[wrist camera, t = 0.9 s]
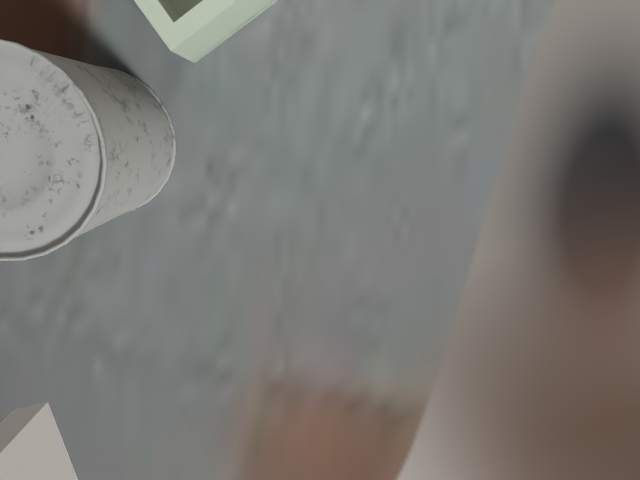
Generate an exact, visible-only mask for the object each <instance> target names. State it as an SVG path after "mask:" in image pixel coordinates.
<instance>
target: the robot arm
mask: <svg viewBox="0 0 640 480" xmlns="http://www.w3.org/2000/svg"><path fill="white" fill-rule="evenodd" d="M0 480H78V479H77V476H76V474H75V471H74V469H73V466H72V463H71V461H70V458H69V456H68V453H67V450H66V448H65V445H64V443H63V440H62V438H61V435H60V432H59V430H58V427H57V425H56V422H55V419H54V417H53V414H52V412H51V409H50V407H49V404H48V402H45V403H41V404H36V405H32V406H27V407H23V408H18V409H14V410H13V411H12V412H11V413H10V414H9V415H8V416H7V417H6V418H5V419H4V420H3V421H2V422H1V423H0Z"/></svg>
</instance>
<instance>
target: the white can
mask: <svg viewBox="0 0 640 480" xmlns="http://www.w3.org/2000/svg"><path fill="white" fill-rule="evenodd" d="M175 154H176V140H175V132H174V128H173V125H172V122H171V118H170V116H169V114H168V112H167V110H166V109H165V107H164V105H163V103H162V101H161V100H160V99H159V98H158V97H157V96H156V95H155V93H154V92H153V91H152V90H151V89H150V88H149V87H148V86H146V85H145V84H144V83H142V82H141V81H140V80H138V79H137V78H136V77H133V76H131V75H129V74H127V73H125V72H123V71H120V70H116V69H112V68H107V67H99V66H95V65H91V64H88V63H84V62H80V61H76V60H72V59H68V58H64V57H61V56H57V55H53V54H49V53H45V52H41V51H37V50H34V49H30V48H28V47H25V46H23V45H21V44H19V43H16V42H11V41H7V40H2V39H0V261H16V260H26V259H30V258H34V257H38V256H42V255H46V254H48V253H50V252H52V251H54V250H56V249H58V248H59V247H61V246H63V245H65V244H67V243H68V242H69V241H71V240H72V239H73V238H75V237H77V236H79V235H81V234H83V233H85V232H87V231H89V230H91V229H93V228H95V227H97V226H99V225H101V224H103V223H105V222H107V221H109V220H111V219H113V218H115V217H117V216H119V215H121V214H123V213H125V212H128V211H132V210H134V209H136V208H138V207H140V206H142V205H144V204H146V203H148V202H149V201H150V200H151V199H152V198H153V197H155V196H156V195H157V194H158V193H159V192H160V191H161V189H162V188H163V186H164V185H165V184H166V182H167V181H168V179H169V176H170V174H171V171H172V169H173V166H174V161H175Z"/></svg>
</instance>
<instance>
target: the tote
mask: <svg viewBox="0 0 640 480" xmlns="http://www.w3.org/2000/svg"><path fill="white" fill-rule="evenodd" d="M134 1H135V2H136V4H137V5H138V7H139V8H140V9H141V11H142V12H143V13H144V15H145V16H146V18H147V19H148V20H149V22H150V23H151V24H152V26H153V27H154V29H155V30H156V31H157V33H158V34H159V35H160V37H161V38H162V40H163V41H164V42H165V44H166V45H167V47H168V48H169V49H170V51H172V52H174V53H176V54H178V55H180V56H182V57H184V58H186V59H188V60H190V61H192V62H193V63H196V62H197V61H198V60H200V59H201V58H202V57H204V56H205V55H206V54H208V53H209V52H210V51H212V50H213V49H214V48H216V47H217V46H218V45H220V44H221V43H222V42H224V41H225V40H226V39H228V38H229V37H230V36H231V35H233V34H234V33H235V32H237V31H238V30H239V29H241V28H242V27H243V26H245V25H246V24H247V23H249V22H250V21H251V20H253V19H254V18H255V17H257V16H258V15H259V14H261V13H262V12H263V11H265V10H266V9H267V8H269V7H270V6H271V5H273V4H274V3H275V2H276V1H278V0H134Z"/></svg>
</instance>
